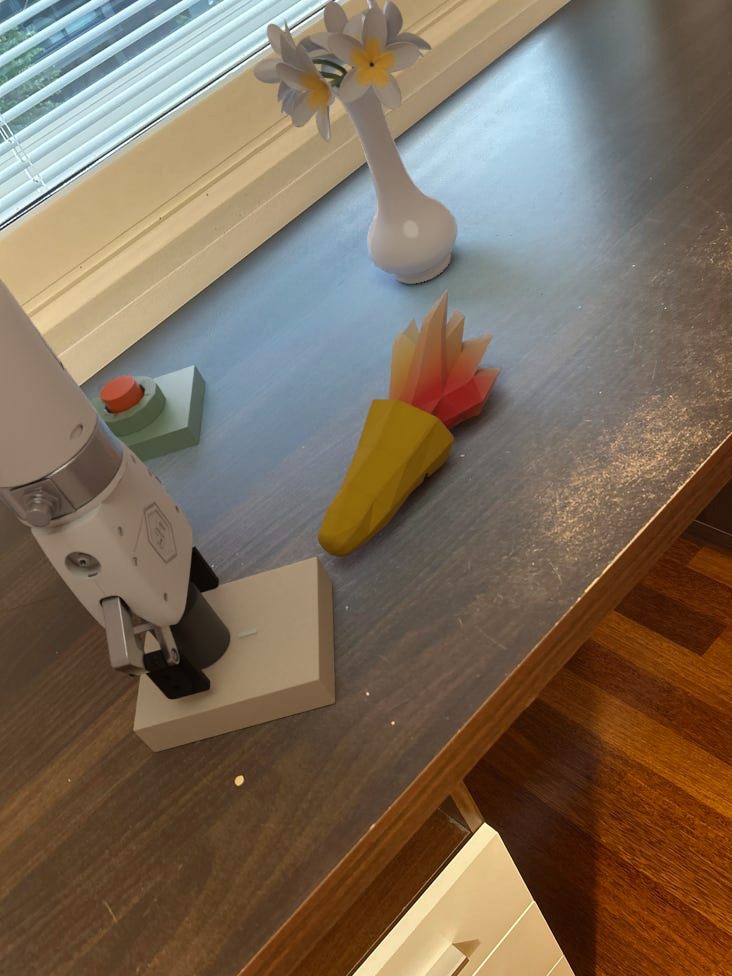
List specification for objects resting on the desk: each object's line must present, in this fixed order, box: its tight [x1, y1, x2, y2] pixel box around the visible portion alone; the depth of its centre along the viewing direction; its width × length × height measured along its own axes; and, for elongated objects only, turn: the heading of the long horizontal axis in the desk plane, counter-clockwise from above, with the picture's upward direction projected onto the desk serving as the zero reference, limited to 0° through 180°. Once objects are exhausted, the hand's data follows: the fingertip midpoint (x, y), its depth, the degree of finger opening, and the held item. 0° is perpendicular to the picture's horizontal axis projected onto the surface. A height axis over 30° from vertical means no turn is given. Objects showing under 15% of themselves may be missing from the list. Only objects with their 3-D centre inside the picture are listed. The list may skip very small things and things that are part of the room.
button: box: [99, 374, 144, 414], centre depth 97 cm, size 4×4×2 cm
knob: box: [139, 582, 230, 669], centre depth 73 cm, size 4×4×5 cm
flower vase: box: [252, 0, 459, 285], centre depth 95 cm, size 13×18×25 cm
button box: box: [88, 364, 206, 463], centre depth 99 cm, size 12×10×4 cm
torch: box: [317, 288, 503, 558], centre depth 82 cm, size 8×8×25 cm
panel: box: [132, 556, 336, 753], centre depth 75 cm, size 14×12×3 cm
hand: (196, 638), depth 74 cm, fingers open, 9 cm apart
